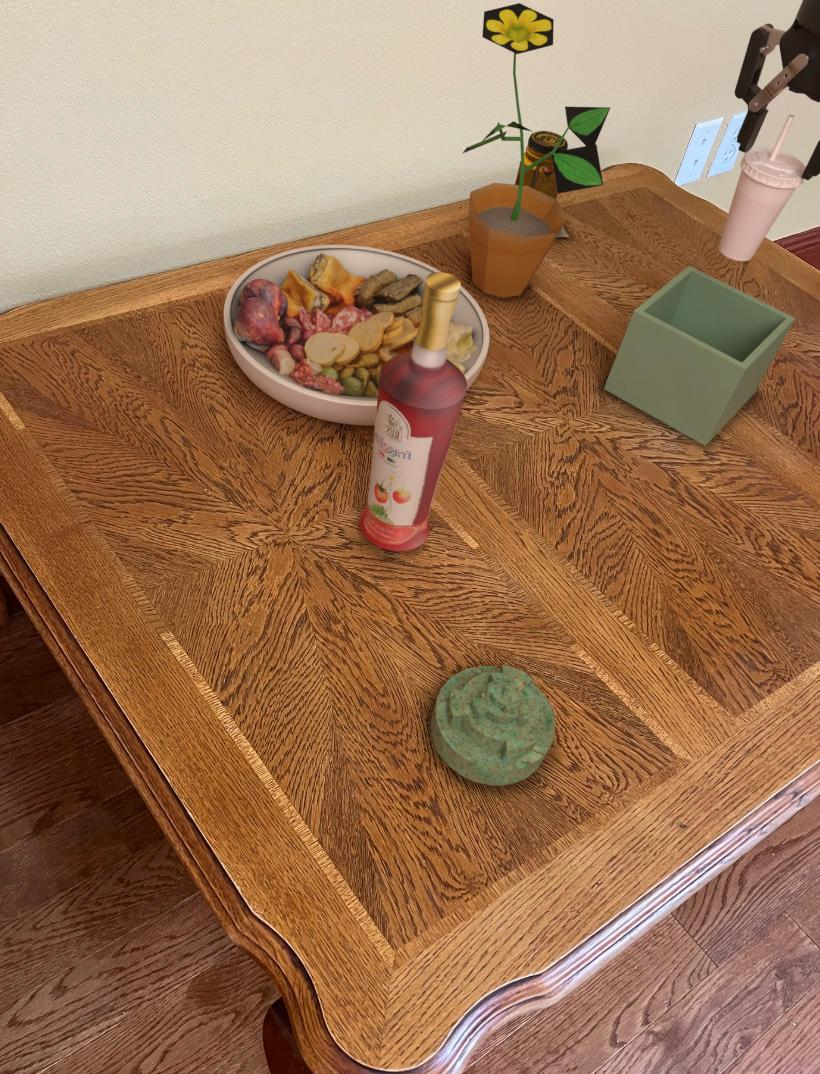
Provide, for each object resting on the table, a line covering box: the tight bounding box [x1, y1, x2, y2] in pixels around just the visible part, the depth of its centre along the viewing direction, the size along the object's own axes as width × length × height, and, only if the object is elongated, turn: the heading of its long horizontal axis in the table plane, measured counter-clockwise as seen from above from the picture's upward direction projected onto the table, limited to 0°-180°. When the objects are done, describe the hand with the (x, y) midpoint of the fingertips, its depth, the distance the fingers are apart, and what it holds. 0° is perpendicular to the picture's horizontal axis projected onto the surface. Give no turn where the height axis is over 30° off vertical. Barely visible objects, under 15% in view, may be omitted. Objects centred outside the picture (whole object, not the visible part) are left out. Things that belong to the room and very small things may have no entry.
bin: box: [603, 265, 796, 447], centre depth 108 cm, size 14×14×11 cm
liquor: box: [359, 271, 468, 552], centre depth 81 cm, size 7×7×28 cm
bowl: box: [223, 244, 490, 427], centre depth 106 cm, size 30×30×8 cm
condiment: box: [514, 130, 570, 238], centre depth 128 cm, size 7×8×12 cm
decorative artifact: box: [429, 664, 556, 787], centre depth 77 cm, size 10×7×10 cm
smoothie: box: [717, 113, 806, 262], centre depth 95 cm, size 6×6×14 cm
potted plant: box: [461, 2, 611, 299], centre depth 111 cm, size 18×19×30 cm
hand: (775, 162), depth 93 cm, fingers closed on smoothie, 6 cm apart
